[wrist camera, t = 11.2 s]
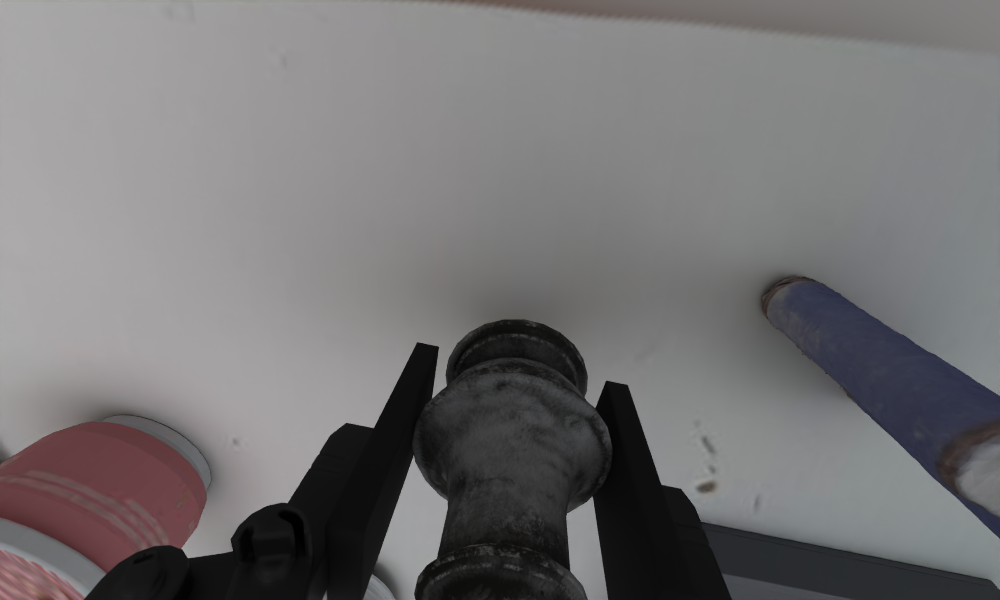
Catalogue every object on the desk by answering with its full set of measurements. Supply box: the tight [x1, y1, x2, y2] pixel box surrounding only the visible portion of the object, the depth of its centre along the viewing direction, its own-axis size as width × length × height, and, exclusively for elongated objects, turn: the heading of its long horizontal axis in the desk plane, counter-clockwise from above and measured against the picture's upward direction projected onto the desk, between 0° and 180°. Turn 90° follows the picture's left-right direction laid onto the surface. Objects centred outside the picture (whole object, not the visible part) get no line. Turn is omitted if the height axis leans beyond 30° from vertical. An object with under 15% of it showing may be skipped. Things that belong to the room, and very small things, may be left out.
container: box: [0, 415, 211, 600], centre depth 21 cm, size 10×10×8 cm
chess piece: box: [412, 320, 613, 600], centre depth 9 cm, size 6×6×12 cm
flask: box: [762, 276, 1000, 538], centre depth 13 cm, size 9×3×11 cm, turn 50°
